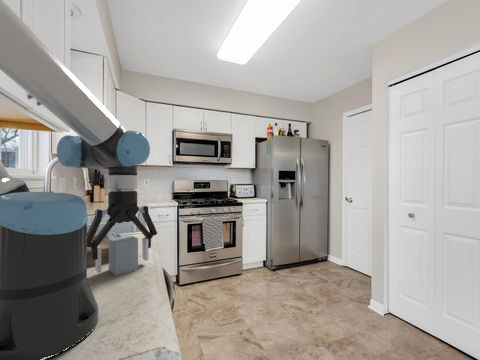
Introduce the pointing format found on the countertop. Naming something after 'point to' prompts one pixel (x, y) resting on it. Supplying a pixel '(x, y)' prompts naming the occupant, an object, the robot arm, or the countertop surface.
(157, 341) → the countertop surface
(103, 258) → the walnut block
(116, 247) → the slate block
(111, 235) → the packaged food
